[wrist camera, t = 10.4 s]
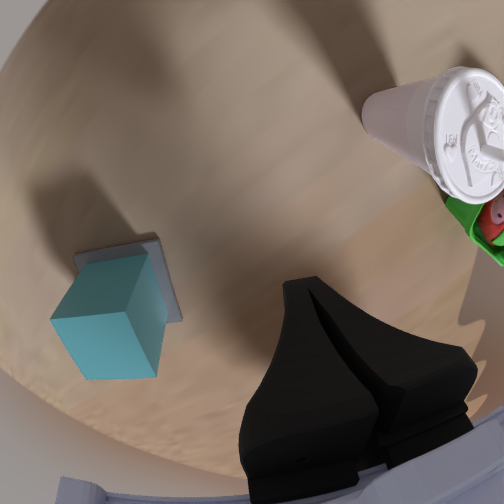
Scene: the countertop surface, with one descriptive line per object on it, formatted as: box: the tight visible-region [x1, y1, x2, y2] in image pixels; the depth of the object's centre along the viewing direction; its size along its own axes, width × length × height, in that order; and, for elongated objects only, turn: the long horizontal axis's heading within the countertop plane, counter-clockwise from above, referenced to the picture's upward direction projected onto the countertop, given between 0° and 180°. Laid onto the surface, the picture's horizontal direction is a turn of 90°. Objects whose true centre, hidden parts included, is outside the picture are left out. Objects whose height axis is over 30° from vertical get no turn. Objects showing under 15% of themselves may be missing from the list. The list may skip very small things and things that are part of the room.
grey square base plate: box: [73, 238, 183, 323], centre depth 20 cm, size 7×7×6 cm
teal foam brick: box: [50, 253, 168, 380], centre depth 19 cm, size 5×5×7 cm
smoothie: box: [362, 66, 504, 204], centre depth 12 cm, size 6×6×14 cm
